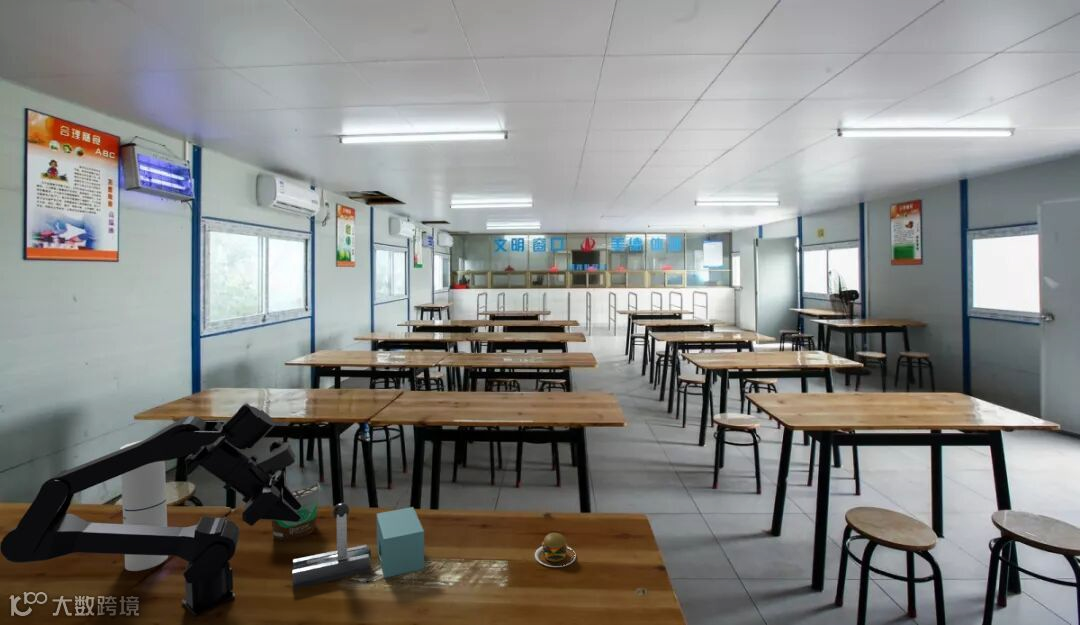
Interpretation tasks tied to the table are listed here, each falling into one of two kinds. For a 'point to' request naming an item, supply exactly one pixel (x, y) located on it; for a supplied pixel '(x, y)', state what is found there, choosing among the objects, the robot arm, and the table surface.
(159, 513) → the cylindrical container
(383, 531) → the socket block
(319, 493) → the food container
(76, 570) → the table surface
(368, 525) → the table surface
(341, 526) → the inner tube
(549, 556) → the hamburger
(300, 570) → the outer sleeve
